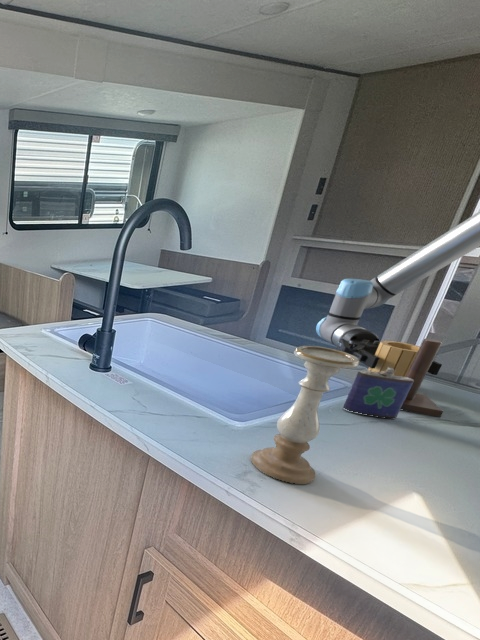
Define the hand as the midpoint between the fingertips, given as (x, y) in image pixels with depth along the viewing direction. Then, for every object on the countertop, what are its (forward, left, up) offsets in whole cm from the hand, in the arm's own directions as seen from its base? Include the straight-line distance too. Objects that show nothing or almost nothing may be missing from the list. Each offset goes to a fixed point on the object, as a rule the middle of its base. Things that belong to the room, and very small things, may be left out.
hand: (406, 366), depth 103 cm
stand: (+1, +10, -6) cm, 12 cm away
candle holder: (+29, +58, -6) cm, 66 cm away
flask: (+10, +22, -6) cm, 25 cm away
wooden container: (+1, -3, -6) cm, 7 cm away
